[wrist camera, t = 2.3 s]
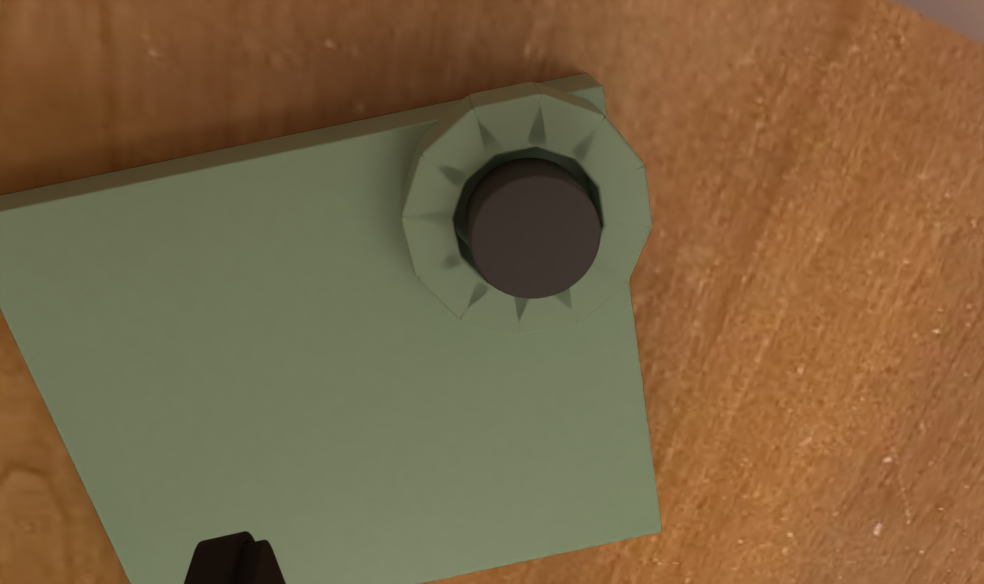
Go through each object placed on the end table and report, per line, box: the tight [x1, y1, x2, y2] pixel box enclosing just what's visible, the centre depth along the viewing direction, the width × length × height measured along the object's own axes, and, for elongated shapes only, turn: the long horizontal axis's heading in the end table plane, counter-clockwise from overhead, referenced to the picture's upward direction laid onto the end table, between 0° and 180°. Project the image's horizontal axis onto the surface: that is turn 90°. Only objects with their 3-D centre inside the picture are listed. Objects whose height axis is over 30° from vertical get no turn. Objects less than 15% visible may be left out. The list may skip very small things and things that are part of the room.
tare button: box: [465, 158, 601, 299], centre depth 20 cm, size 3×3×2 cm
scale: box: [0, 73, 662, 584], centre depth 24 cm, size 16×14×4 cm
